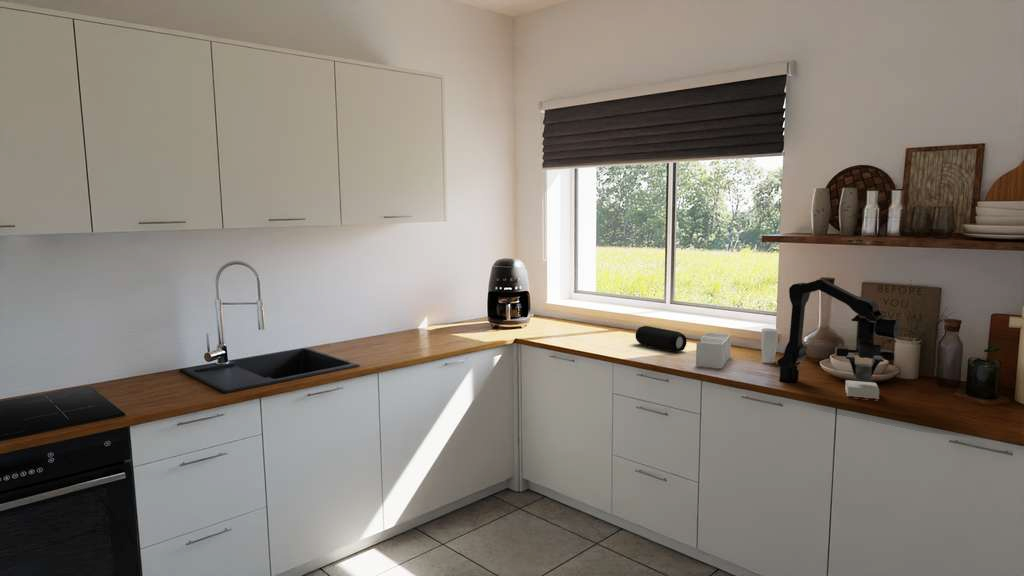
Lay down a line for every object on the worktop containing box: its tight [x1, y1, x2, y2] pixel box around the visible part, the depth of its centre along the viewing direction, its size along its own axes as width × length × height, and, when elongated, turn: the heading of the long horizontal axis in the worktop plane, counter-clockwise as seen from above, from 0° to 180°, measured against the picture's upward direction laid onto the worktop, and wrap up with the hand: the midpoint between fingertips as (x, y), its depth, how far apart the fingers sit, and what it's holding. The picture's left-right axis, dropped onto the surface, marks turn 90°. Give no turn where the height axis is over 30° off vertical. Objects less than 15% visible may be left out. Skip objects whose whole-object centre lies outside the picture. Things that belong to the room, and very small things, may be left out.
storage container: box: [695, 331, 732, 369], centre depth 291 cm, size 25×11×11 cm, turn 153°
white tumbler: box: [760, 327, 779, 365], centre depth 289 cm, size 7×7×15 cm
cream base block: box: [844, 379, 880, 400], centre depth 238 cm, size 10×10×4 cm
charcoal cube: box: [853, 362, 872, 382], centre depth 237 cm, size 5×5×5 cm
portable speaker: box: [635, 325, 688, 353], centre depth 319 cm, size 26×10×10 cm, turn 37°
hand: (862, 375), depth 238 cm, fingers closed on charcoal cube, 5 cm apart
